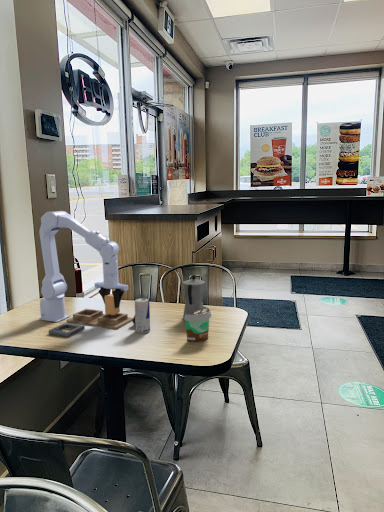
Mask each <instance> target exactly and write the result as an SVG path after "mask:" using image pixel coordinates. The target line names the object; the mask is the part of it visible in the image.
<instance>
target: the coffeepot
mask: <svg viewBox="0 0 384 512" xmlns="http://www.w3.org/2000/svg"><path fill="white" fill-rule="evenodd" d="M196 276H197V275H195V274H192V275H191V279H188V280H185V281H182V289H183V294H184V299H185V303H184V309H183V315H182V316H183V320H184V319H185V314H188V315H190V314H191V313H193V312H194V311H198V310H200V309H202V306H204V304H203V298H204V295H205V287H206V281H204V280H202V279H197V278H196Z"/></svg>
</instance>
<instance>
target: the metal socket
mask: <svg viewBox="0 0 384 512" xmlns="http://www.w3.org/2000/svg"><path fill="white" fill-rule="evenodd" d="M85 328H86V327H85V325H84V324H77V323H70V322H64V323H62V324H60V325H58V326H56V327H53V328H51V329H48V335H50V336H56V337H57V336H58V337H61V338H62V337H63V338H68V339H69V338H71V337H72V336H75V335H76V334H78V333H81V332H83V331H84V330H85ZM65 329H69V330H68V331H65Z"/></svg>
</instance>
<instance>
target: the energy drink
mask: <svg viewBox="0 0 384 512" xmlns="http://www.w3.org/2000/svg"><path fill="white" fill-rule="evenodd" d="M150 309H151V307H150V300H149V298H146V297H139V298H136V299H135V300H134V316H135V324H136V326H135V332H136V333H137V334H148V333H149V332H151V312H150V311H151V310H150Z"/></svg>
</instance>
